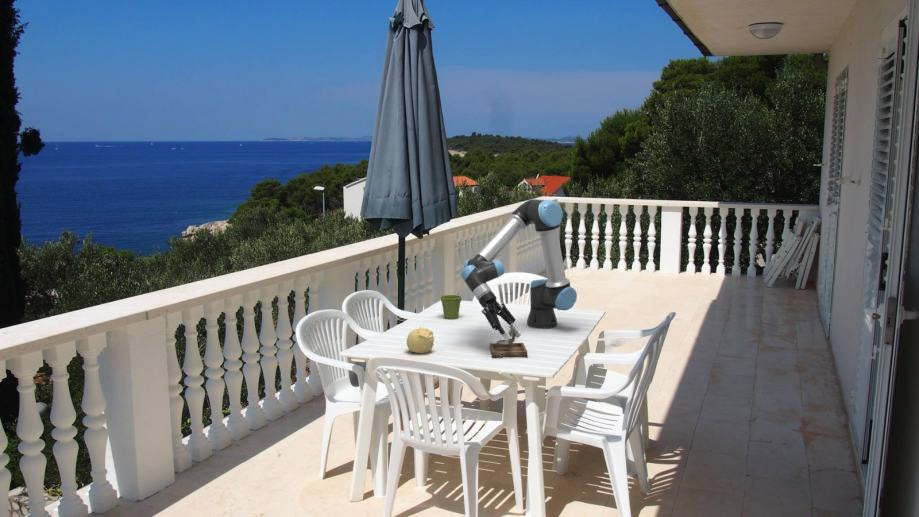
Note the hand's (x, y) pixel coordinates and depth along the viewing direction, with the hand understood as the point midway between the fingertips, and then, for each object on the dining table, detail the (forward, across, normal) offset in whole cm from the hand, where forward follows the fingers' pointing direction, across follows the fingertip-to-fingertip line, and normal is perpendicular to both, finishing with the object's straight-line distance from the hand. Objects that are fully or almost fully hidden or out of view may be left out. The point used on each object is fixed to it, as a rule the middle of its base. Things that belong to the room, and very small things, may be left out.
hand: (514, 338), depth 324 cm
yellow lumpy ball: (-19, +23, -30) cm, 42 cm away
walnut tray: (+3, 0, -8) cm, 8 cm away
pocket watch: (0, +1, -5) cm, 5 cm away
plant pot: (-43, -35, -54) cm, 77 cm away
